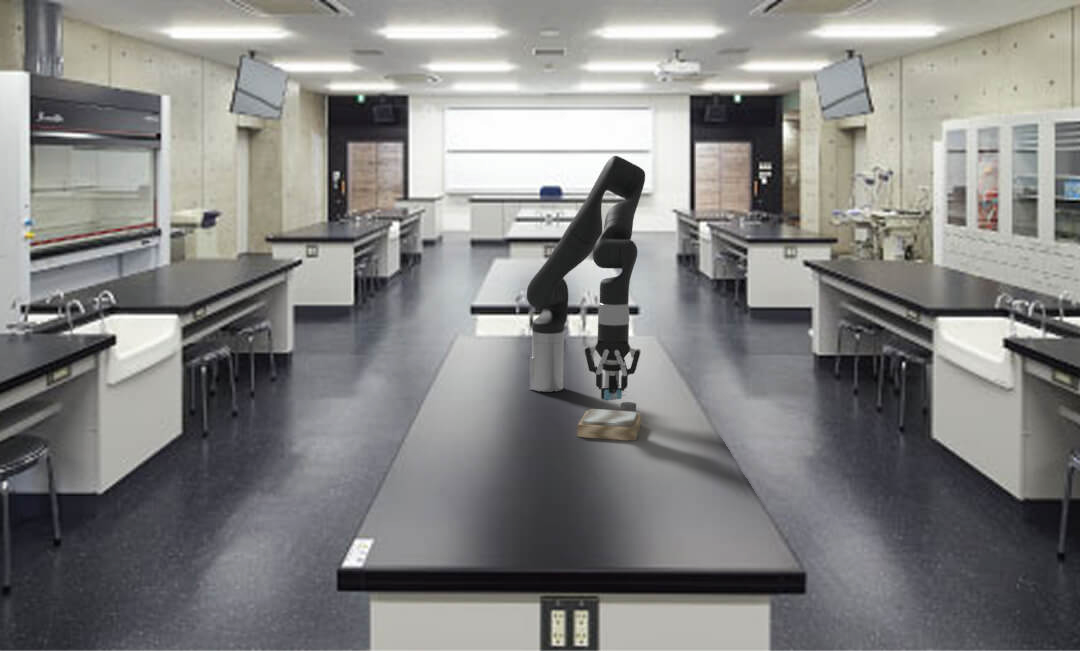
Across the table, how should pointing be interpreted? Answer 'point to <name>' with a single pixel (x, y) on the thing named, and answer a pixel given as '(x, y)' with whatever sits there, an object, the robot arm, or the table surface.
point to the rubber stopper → (628, 406)
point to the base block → (609, 424)
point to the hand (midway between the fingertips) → (611, 389)
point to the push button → (611, 381)
